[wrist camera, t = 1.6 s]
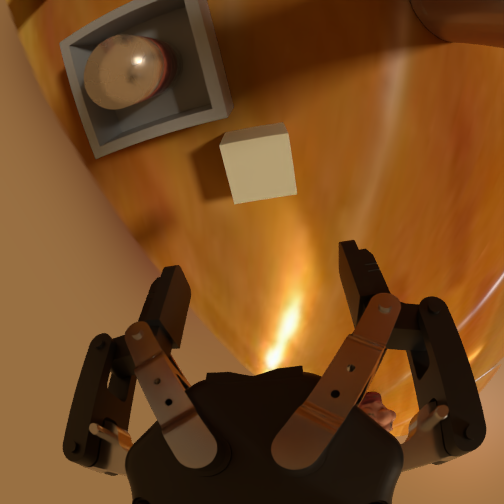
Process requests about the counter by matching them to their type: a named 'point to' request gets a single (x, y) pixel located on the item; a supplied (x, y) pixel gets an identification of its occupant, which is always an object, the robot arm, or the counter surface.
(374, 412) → the brown clay jug
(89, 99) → the box
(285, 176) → the plain beige box
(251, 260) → the counter surface
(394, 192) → the counter surface
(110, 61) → the tan rounded piece
